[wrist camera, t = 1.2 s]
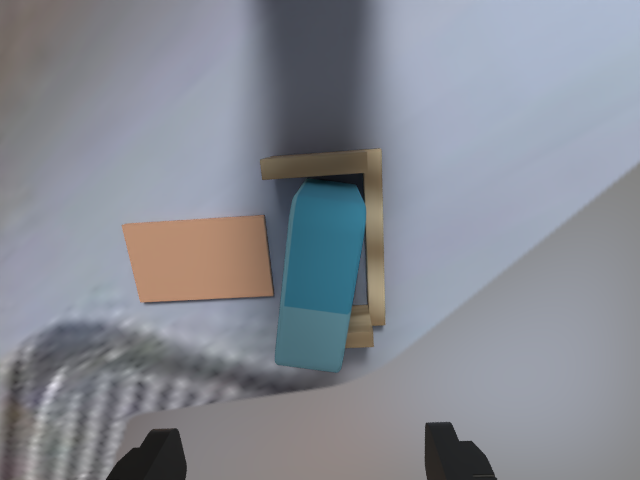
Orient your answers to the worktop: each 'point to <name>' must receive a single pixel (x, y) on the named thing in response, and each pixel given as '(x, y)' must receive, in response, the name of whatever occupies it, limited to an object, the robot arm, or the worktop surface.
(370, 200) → the oak rack
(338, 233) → the blue flat block
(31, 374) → the worktop surface
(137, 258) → the terracotta pad
